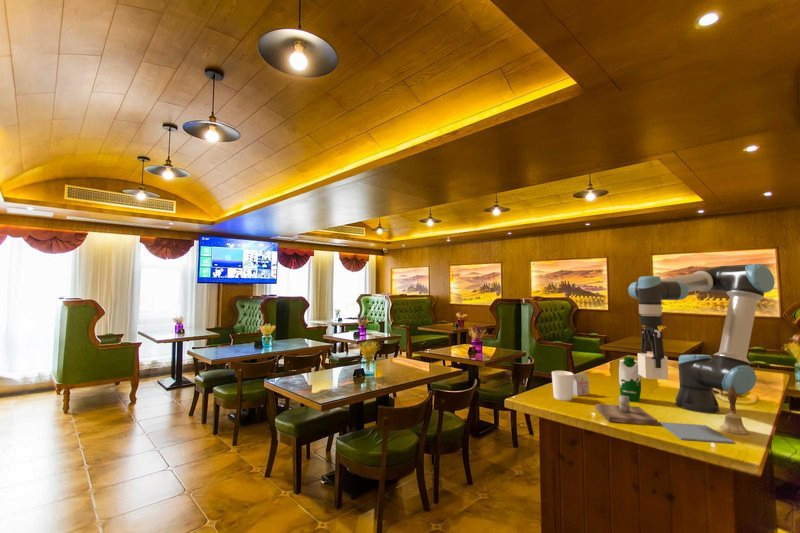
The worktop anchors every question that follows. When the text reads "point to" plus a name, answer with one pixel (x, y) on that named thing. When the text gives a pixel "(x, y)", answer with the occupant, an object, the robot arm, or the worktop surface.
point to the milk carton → (629, 379)
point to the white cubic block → (651, 366)
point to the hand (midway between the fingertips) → (653, 373)
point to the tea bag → (580, 385)
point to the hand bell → (733, 416)
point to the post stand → (625, 413)
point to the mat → (695, 432)
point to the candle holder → (562, 385)
